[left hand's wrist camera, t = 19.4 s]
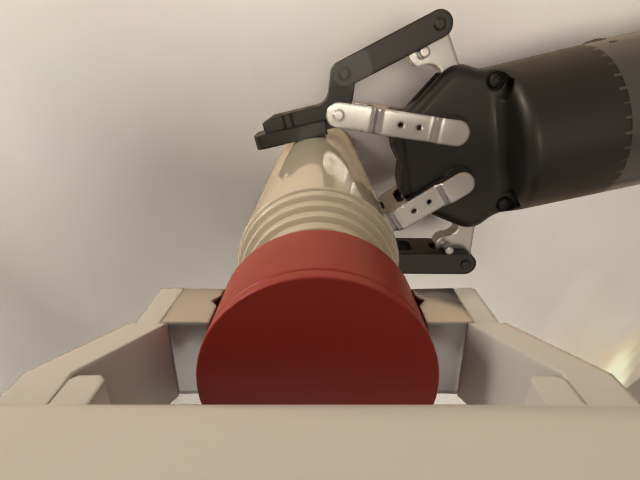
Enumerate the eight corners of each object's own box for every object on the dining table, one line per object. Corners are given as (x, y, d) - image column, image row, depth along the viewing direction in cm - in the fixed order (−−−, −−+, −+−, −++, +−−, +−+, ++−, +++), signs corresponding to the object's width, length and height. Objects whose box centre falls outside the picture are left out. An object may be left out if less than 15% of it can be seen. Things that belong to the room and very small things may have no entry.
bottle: (348, 114, 28) (428, 230, 7) (360, 186, 30) (449, 437, 9) (275, 128, 28) (161, 278, 8) (291, 199, 30) (232, 468, 10)
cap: (365, 414, 11) (376, 497, 9) (199, 361, 11) (168, 436, 8) (448, 270, 10) (485, 329, 7) (258, 198, 9) (239, 238, 7)
